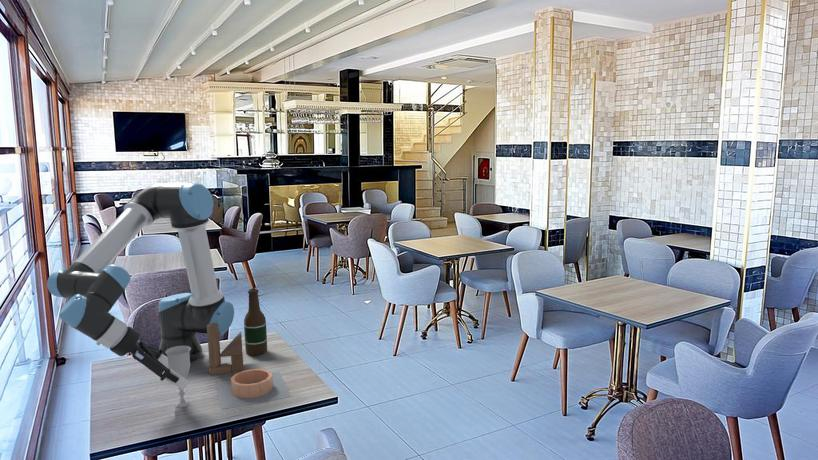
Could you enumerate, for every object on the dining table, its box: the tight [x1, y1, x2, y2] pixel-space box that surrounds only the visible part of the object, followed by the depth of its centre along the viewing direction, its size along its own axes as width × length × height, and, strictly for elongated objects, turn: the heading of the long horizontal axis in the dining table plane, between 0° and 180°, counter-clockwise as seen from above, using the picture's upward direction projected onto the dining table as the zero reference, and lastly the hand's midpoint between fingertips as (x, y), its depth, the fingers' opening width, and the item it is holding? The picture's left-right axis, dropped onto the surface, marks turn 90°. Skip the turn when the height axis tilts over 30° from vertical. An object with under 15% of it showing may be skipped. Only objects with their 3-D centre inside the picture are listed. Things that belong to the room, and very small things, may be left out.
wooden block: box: [206, 323, 245, 376], centre depth 185 cm, size 4×11×18 cm, turn 104°
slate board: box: [215, 371, 292, 410], centre depth 172 cm, size 20×20×2 cm
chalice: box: [165, 346, 191, 413], centre depth 161 cm, size 7×7×18 cm
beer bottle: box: [243, 288, 268, 357], centre depth 204 cm, size 8×8×24 cm
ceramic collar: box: [230, 368, 273, 398], centre depth 171 cm, size 12×12×4 cm
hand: (181, 377), depth 161 cm, fingers open, 13 cm apart
